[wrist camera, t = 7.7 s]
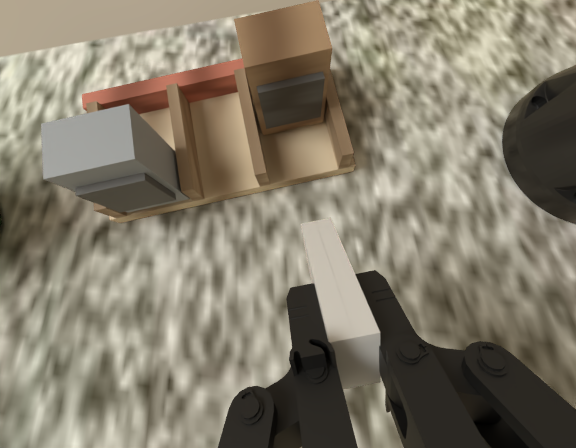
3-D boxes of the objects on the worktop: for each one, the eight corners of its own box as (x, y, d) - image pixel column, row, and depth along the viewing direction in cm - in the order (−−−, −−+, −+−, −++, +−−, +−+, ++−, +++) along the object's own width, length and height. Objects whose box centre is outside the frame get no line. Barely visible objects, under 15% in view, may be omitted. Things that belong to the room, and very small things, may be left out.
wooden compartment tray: (324, 69, 31) (328, 34, 27) (353, 171, 29) (362, 151, 24) (109, 117, 31) (77, 91, 27) (119, 223, 29) (86, 212, 24)
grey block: (183, 160, 28) (128, 104, 19) (190, 205, 27) (135, 167, 18) (123, 173, 28) (40, 123, 19) (128, 218, 27) (43, 187, 18)
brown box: (313, 86, 29) (318, 0, 20) (324, 127, 28) (334, 55, 19) (255, 99, 29) (234, 19, 20) (264, 140, 28) (246, 75, 19)
